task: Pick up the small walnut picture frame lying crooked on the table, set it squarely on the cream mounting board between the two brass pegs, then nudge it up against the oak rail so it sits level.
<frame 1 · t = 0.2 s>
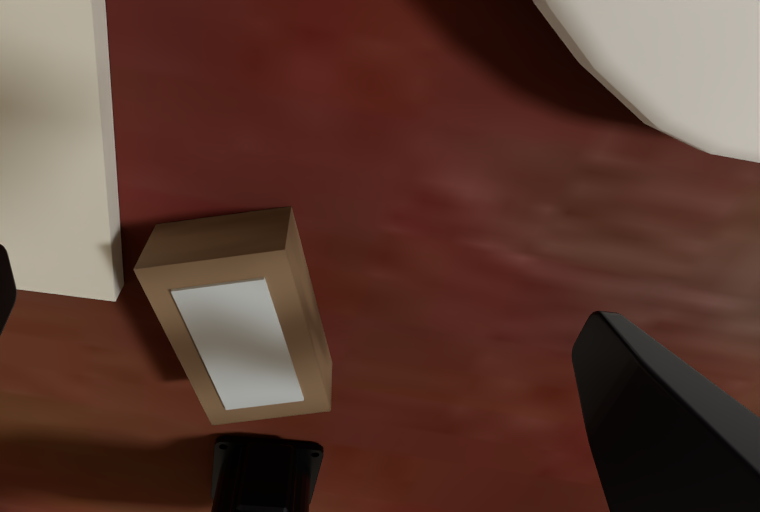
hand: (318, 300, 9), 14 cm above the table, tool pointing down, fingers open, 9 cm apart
frame: (254, 296, 27), on the table
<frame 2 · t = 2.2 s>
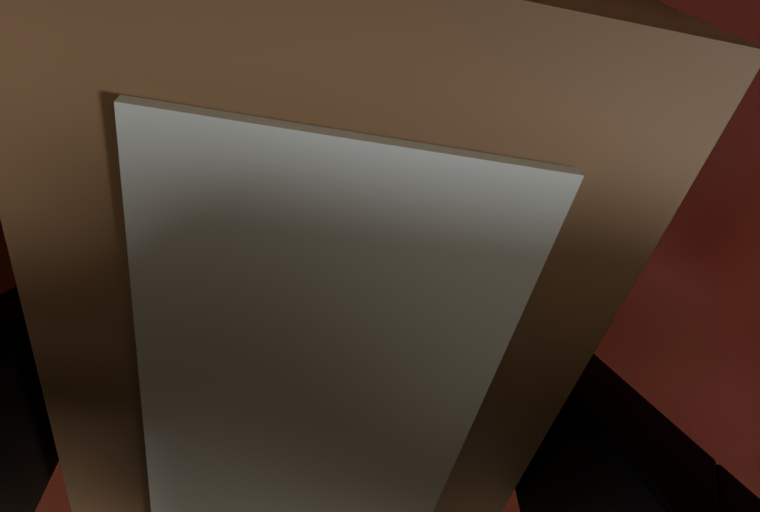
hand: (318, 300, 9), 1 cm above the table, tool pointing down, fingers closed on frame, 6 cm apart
frame: (321, 255, 9), on the table, touching gripper
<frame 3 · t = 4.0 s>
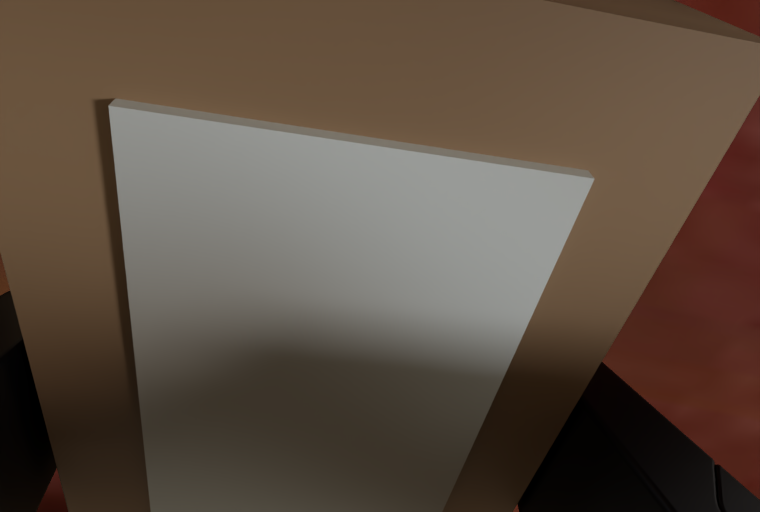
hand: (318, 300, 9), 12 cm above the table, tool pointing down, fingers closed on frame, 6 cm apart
frame: (323, 259, 9), point 11 cm above the table, touching gripper
when the fingers open (4 cm above the table, at t = 5.7 s): frame drops 2 cm, resting on wall board.
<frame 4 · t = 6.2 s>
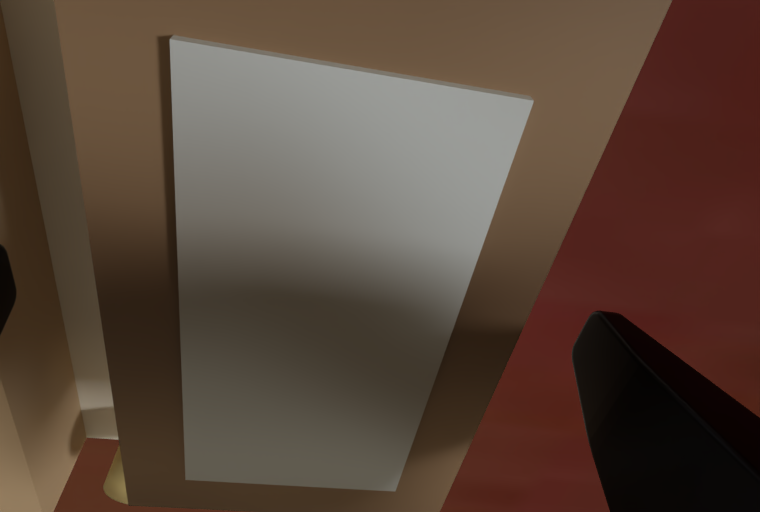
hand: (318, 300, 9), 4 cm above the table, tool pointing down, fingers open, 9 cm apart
frame: (325, 205, 11), point 1 cm above the table, touching wall board
wall board: (277, 171, 12), on the table
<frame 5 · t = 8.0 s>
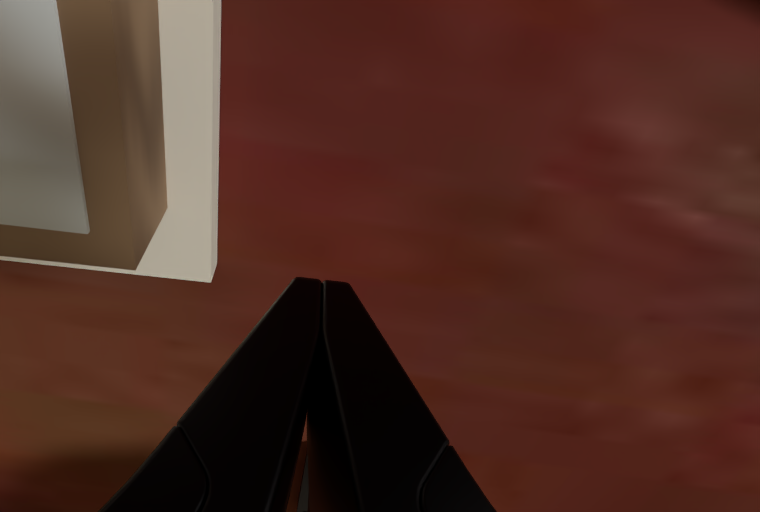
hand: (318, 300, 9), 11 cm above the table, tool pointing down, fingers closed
frame: (48, 41, 15), point 1 cm above the table, touching wall board
wall board: (29, 26, 16), on the table
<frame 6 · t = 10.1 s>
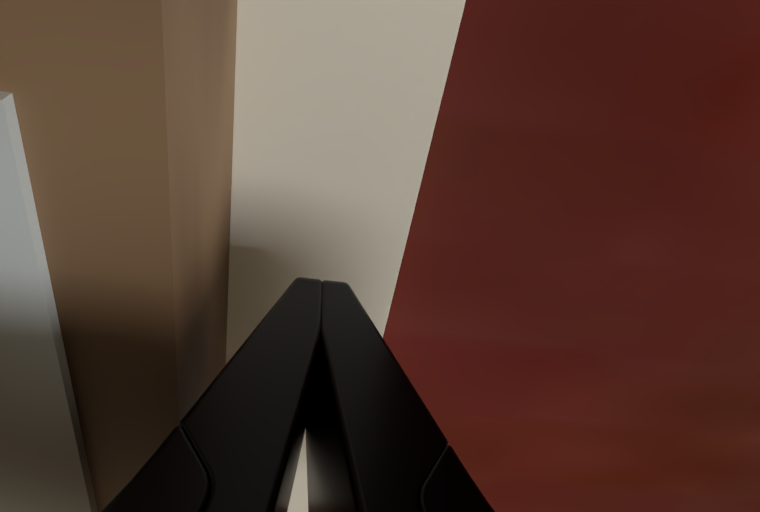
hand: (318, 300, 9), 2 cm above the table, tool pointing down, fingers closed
frame: (37, 229, 9), point 1 cm above the table, touching gripper, wall board
wall board: (94, 198, 10), on the table
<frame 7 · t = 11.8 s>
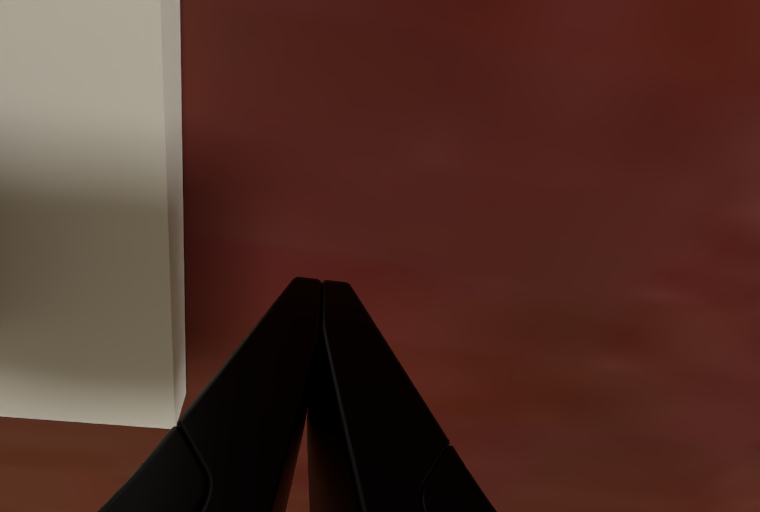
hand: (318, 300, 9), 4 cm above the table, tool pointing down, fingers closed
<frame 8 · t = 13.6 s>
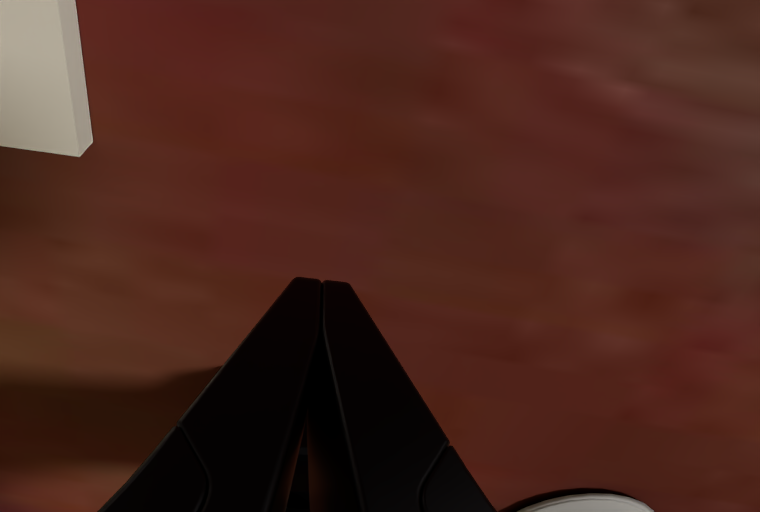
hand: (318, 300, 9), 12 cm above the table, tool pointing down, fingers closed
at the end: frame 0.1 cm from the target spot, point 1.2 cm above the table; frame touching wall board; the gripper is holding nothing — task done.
